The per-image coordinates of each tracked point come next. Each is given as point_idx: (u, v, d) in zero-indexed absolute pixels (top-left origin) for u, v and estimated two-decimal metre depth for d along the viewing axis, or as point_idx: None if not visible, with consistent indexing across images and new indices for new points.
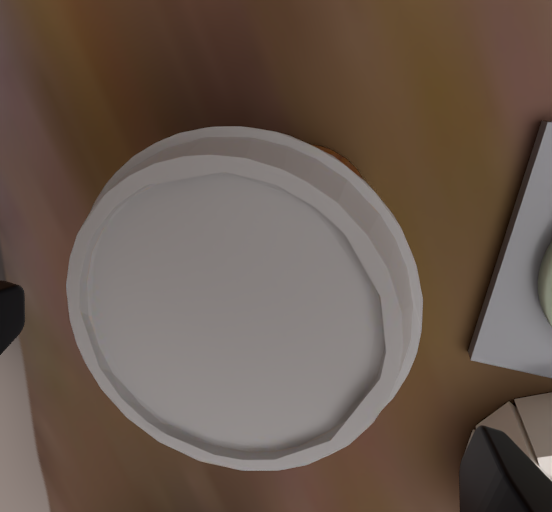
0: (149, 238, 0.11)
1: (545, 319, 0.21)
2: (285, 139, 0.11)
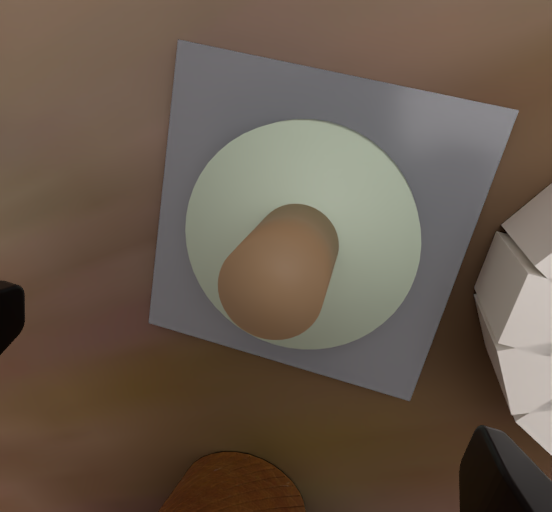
0: None
1: None
2: None
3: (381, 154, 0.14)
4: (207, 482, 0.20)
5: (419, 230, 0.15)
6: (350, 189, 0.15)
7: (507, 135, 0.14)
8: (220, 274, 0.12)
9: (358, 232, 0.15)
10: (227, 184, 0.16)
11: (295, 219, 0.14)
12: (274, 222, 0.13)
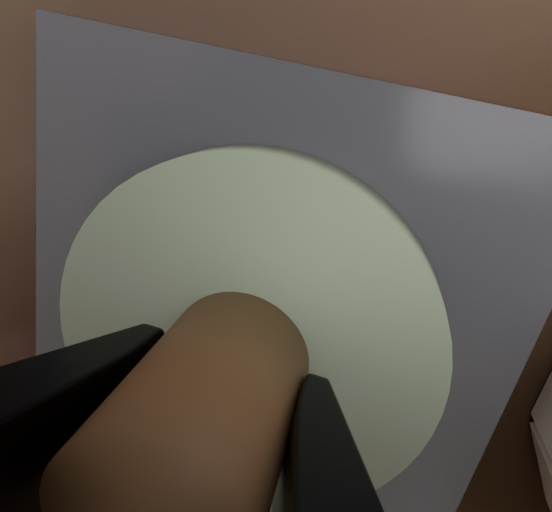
0: None
1: None
2: None
3: (381, 213, 0.08)
4: None
5: (449, 344, 0.08)
6: (326, 271, 0.08)
7: None
8: (42, 489, 0.06)
9: (341, 343, 0.09)
10: (119, 256, 0.09)
11: (218, 343, 0.07)
12: (173, 356, 0.07)
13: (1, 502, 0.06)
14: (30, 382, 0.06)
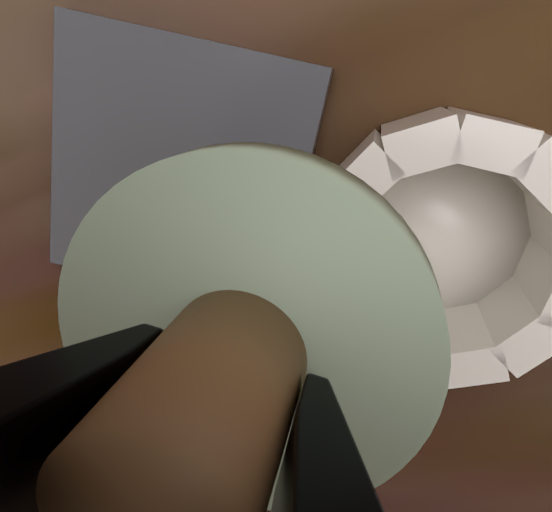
0: None
1: None
2: None
3: (379, 211, 0.08)
4: None
5: (447, 342, 0.08)
6: (324, 270, 0.08)
7: (325, 89, 0.17)
8: (38, 487, 0.06)
9: (340, 341, 0.09)
10: (117, 255, 0.09)
11: (216, 340, 0.07)
12: (170, 354, 0.07)
13: (1, 502, 0.06)
14: (30, 382, 0.06)
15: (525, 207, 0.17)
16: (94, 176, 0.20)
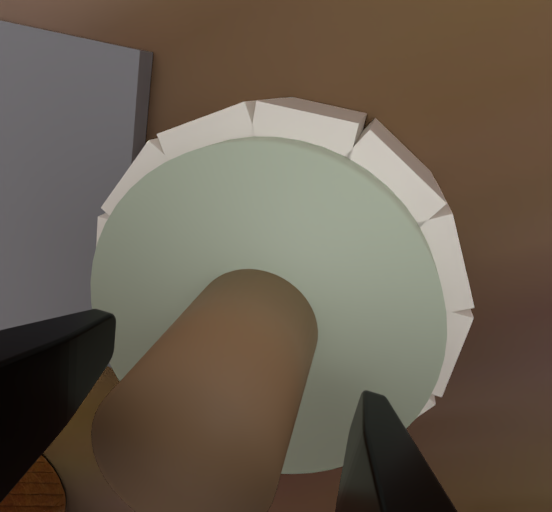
0: None
1: (49, 289, 0.17)
2: None
3: (383, 196, 0.09)
4: None
5: (444, 314, 0.09)
6: (334, 249, 0.09)
7: (135, 78, 0.14)
8: (94, 427, 0.07)
9: (347, 314, 0.10)
10: (146, 237, 0.10)
11: (240, 309, 0.08)
12: (201, 318, 0.08)
13: None
14: None
15: None
16: None
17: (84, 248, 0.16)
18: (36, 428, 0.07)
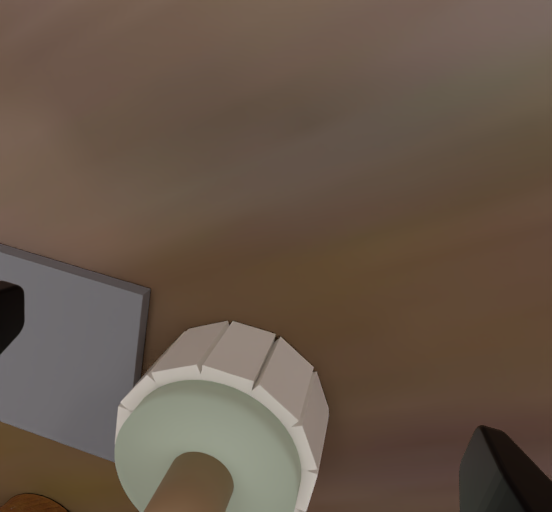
0: None
1: (82, 415, 0.26)
2: None
3: (260, 427, 0.18)
4: None
5: (293, 481, 0.18)
6: (239, 448, 0.19)
7: (139, 308, 0.23)
8: None
9: (247, 477, 0.19)
10: (145, 432, 0.19)
11: (188, 488, 0.17)
12: (169, 496, 0.17)
13: None
14: None
15: None
16: None
17: (106, 394, 0.25)
18: None
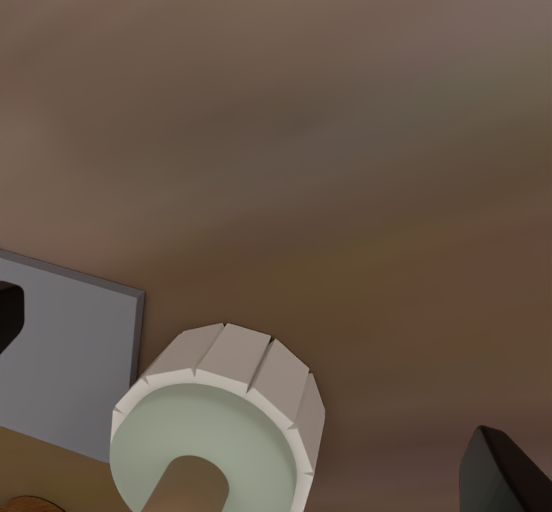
0: None
1: (78, 418, 0.26)
2: None
3: (255, 431, 0.18)
4: None
5: (289, 484, 0.18)
6: (234, 451, 0.18)
7: (134, 311, 0.23)
8: None
9: (242, 480, 0.19)
10: (139, 436, 0.19)
11: (183, 492, 0.17)
12: (164, 501, 0.17)
13: None
14: None
15: None
16: None
17: (102, 397, 0.25)
18: None
